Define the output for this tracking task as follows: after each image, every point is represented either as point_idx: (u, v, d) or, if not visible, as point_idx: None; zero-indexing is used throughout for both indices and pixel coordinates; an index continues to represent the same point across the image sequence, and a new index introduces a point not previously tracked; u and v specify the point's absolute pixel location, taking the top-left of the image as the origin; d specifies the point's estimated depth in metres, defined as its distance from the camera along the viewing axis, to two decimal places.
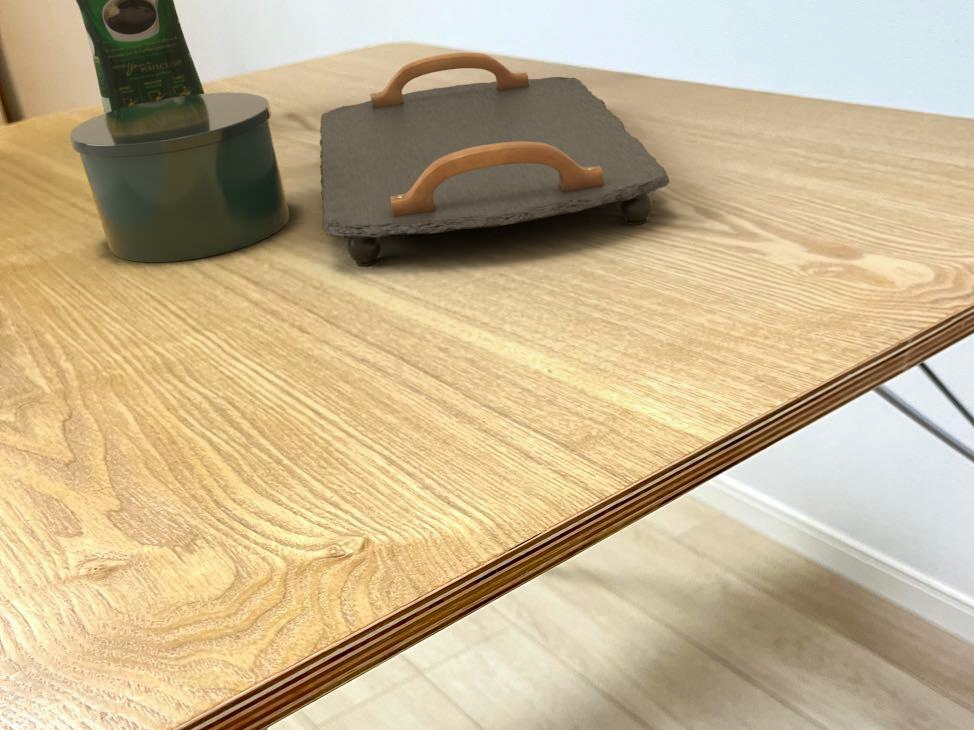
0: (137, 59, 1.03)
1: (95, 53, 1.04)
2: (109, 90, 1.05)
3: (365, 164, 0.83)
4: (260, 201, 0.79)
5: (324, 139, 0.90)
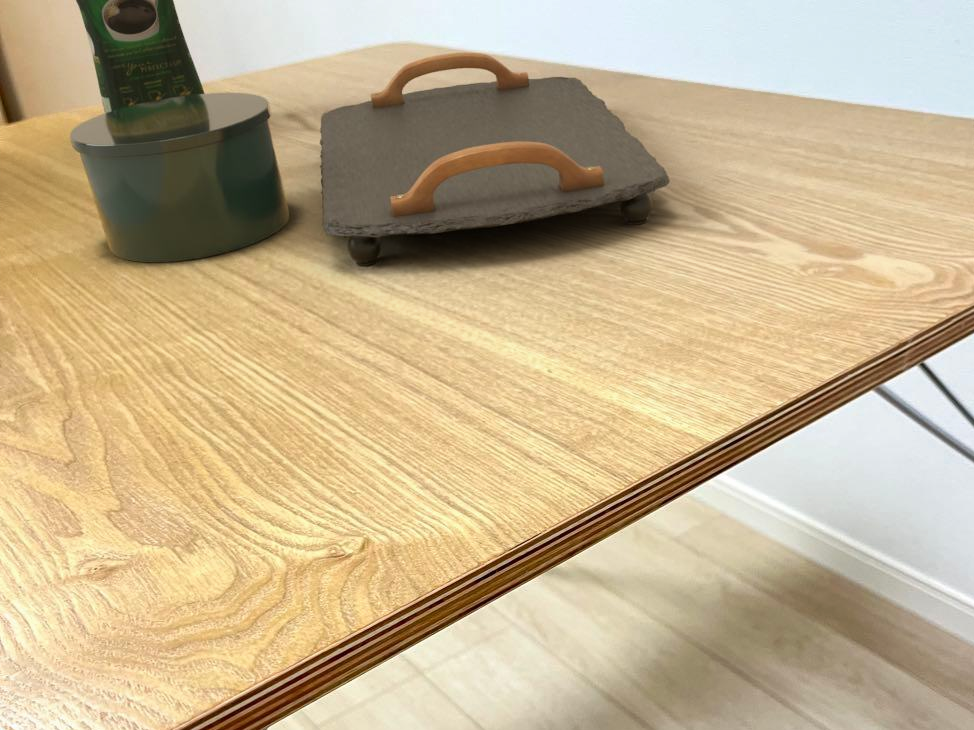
0: (137, 59, 1.03)
1: (95, 53, 1.04)
2: (109, 90, 1.05)
3: (365, 164, 0.83)
4: (260, 201, 0.79)
5: (324, 139, 0.90)
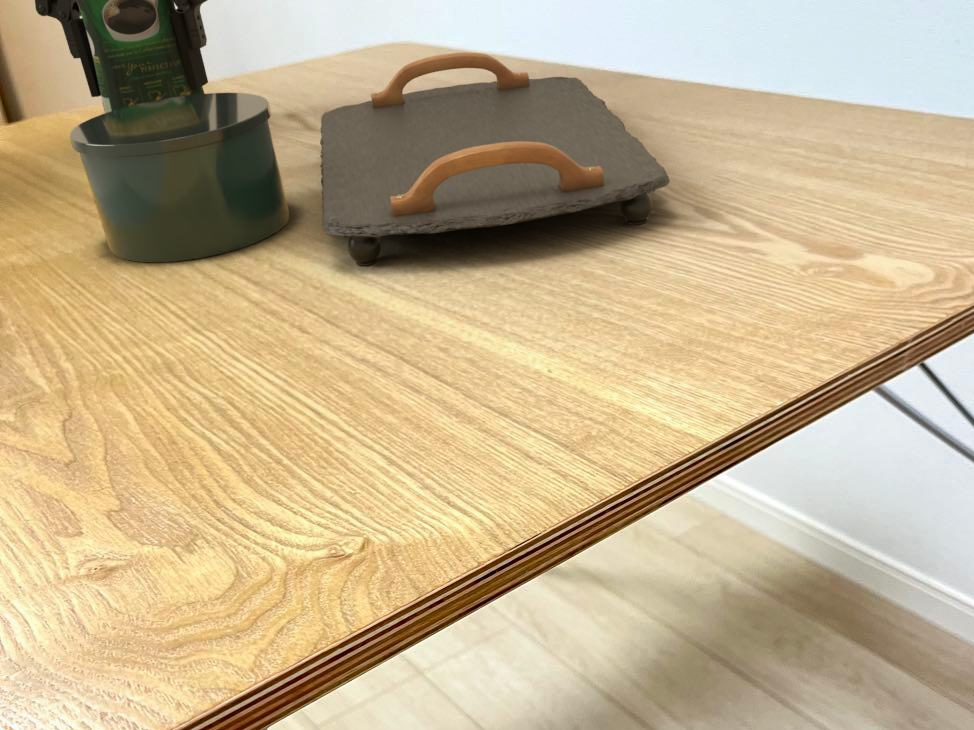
0: (137, 59, 1.03)
1: (95, 53, 1.04)
2: (109, 90, 1.05)
3: (365, 164, 0.83)
4: (260, 201, 0.79)
5: (325, 139, 0.90)
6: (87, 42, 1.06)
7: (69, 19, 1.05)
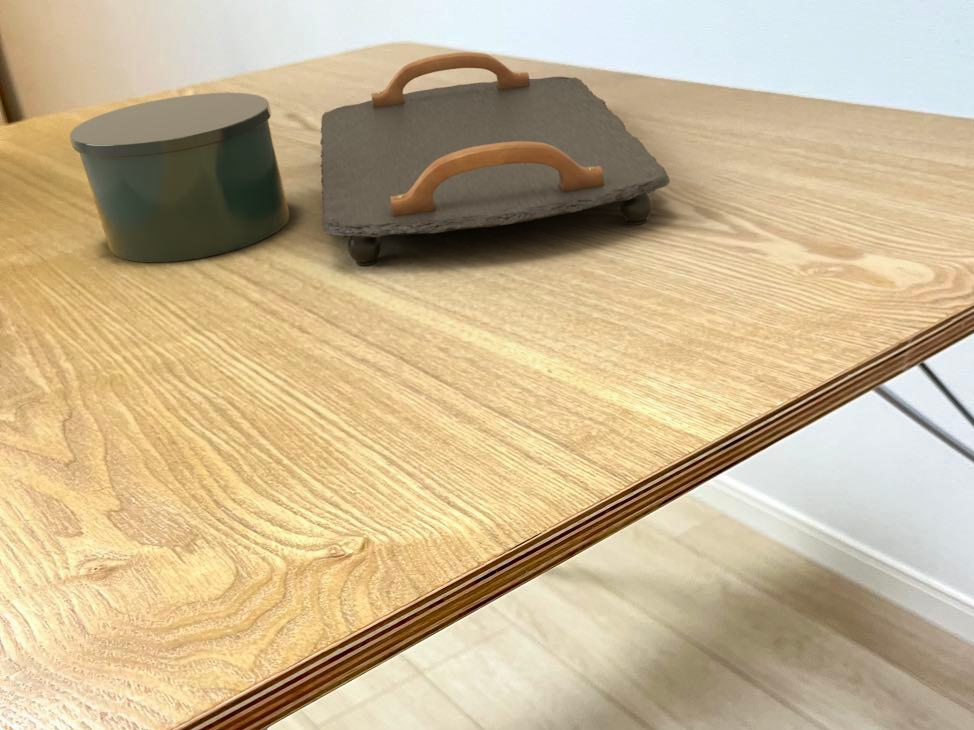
0: None
1: None
2: None
3: (366, 164, 0.83)
4: (260, 201, 0.79)
5: (325, 139, 0.90)
6: None
7: None
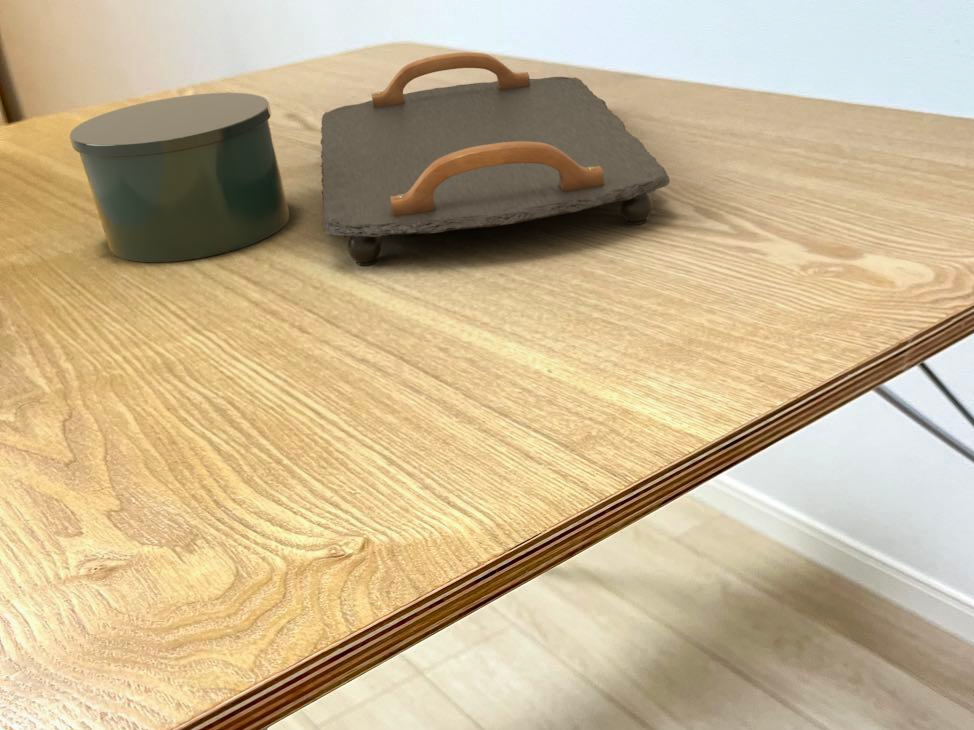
0: None
1: None
2: None
3: (366, 164, 0.83)
4: (260, 201, 0.79)
5: (325, 139, 0.90)
6: None
7: None
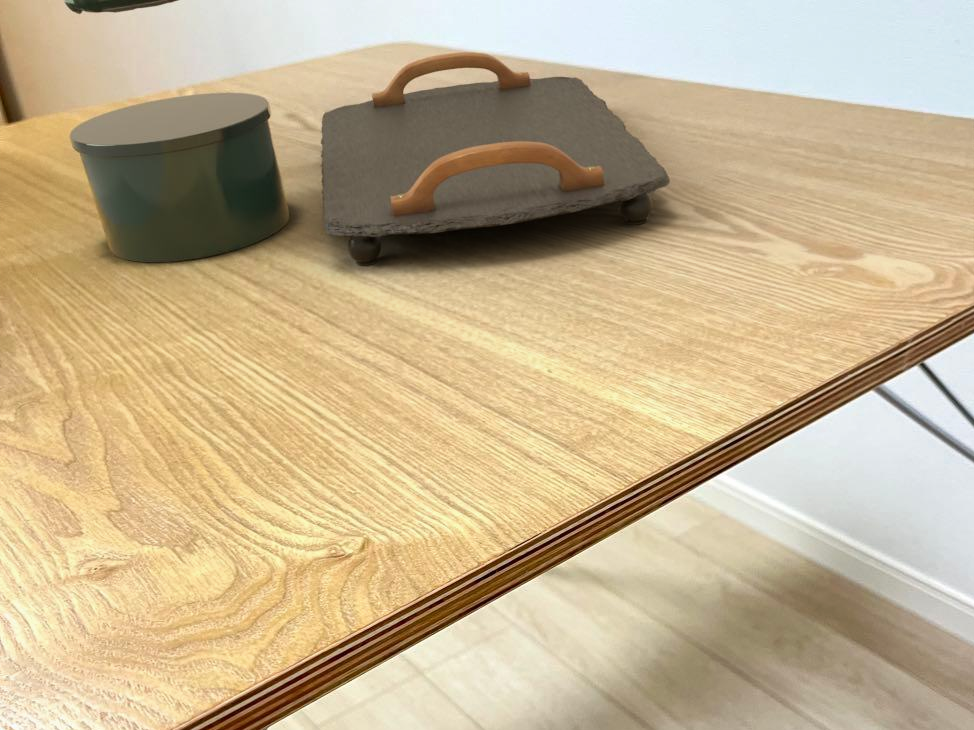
0: None
1: None
2: None
3: (366, 164, 0.83)
4: (260, 201, 0.79)
5: (325, 138, 0.90)
6: None
7: None
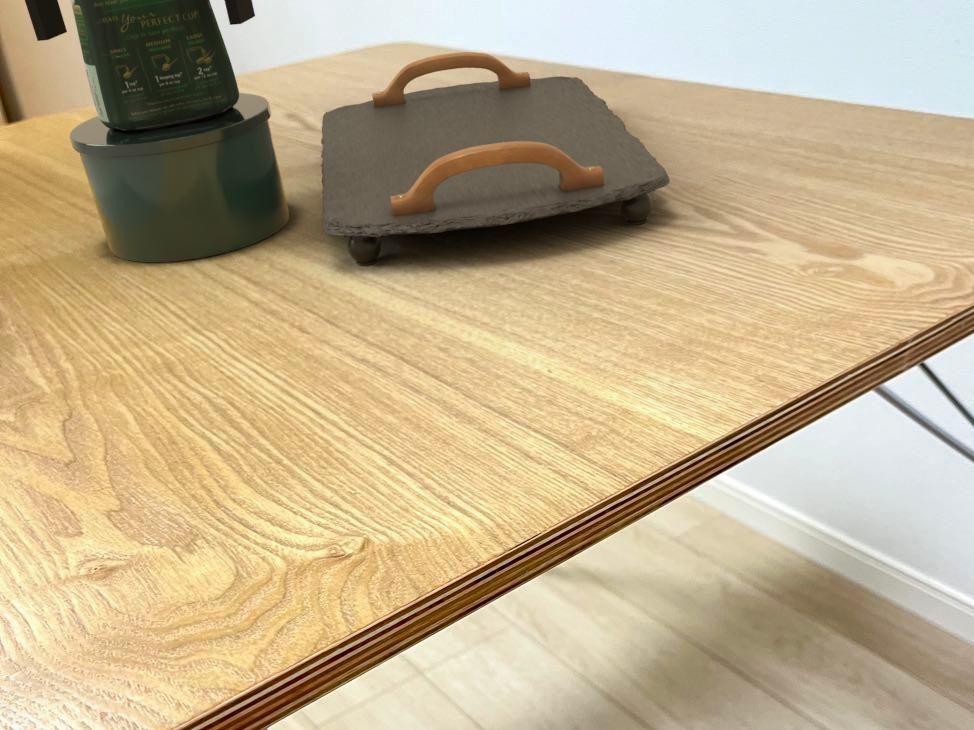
0: (136, 8, 0.72)
1: (75, 1, 0.72)
2: (95, 54, 0.73)
3: (366, 164, 0.83)
4: (260, 201, 0.79)
5: (325, 138, 0.90)
6: None
7: None
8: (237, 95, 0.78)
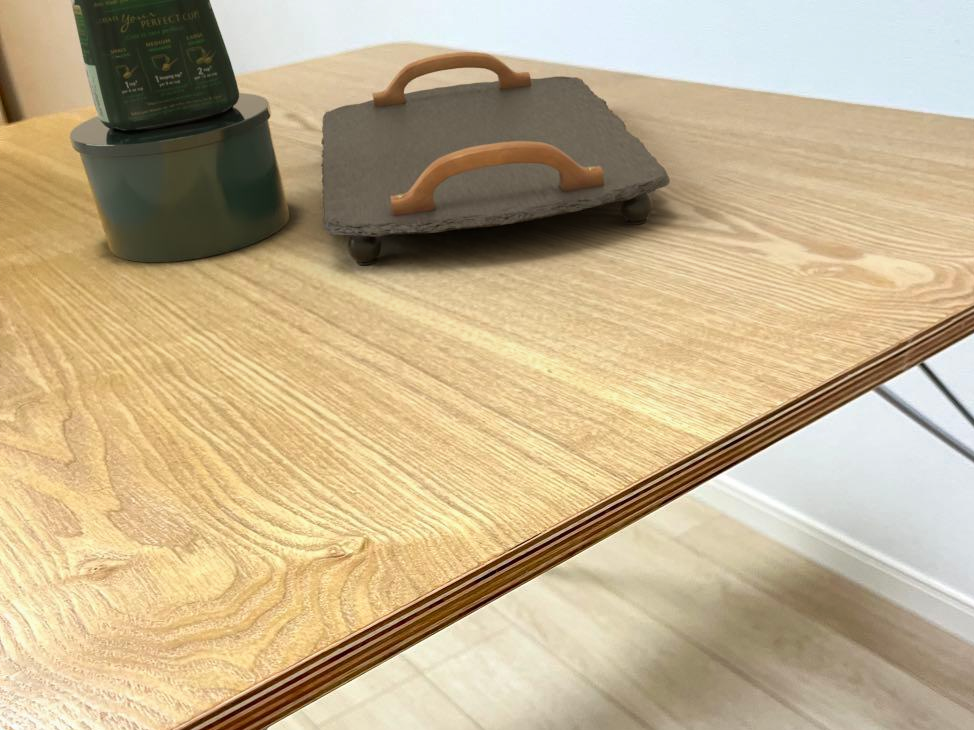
0: (136, 8, 0.72)
1: (75, 1, 0.72)
2: (95, 54, 0.73)
3: (366, 163, 0.83)
4: (260, 201, 0.79)
5: (326, 138, 0.90)
6: None
7: None
8: (237, 95, 0.78)
